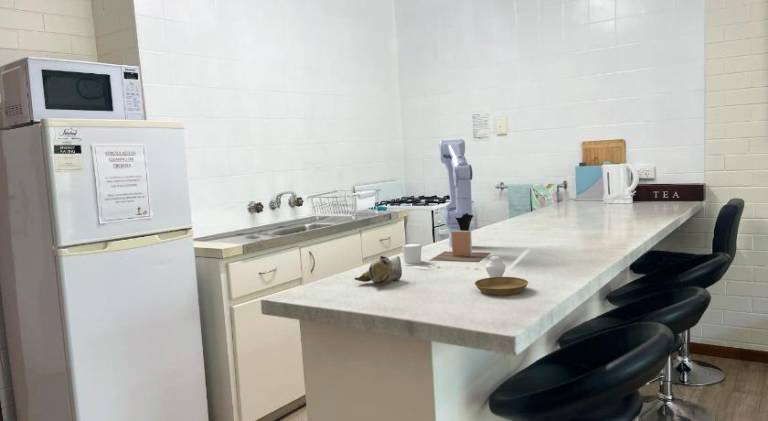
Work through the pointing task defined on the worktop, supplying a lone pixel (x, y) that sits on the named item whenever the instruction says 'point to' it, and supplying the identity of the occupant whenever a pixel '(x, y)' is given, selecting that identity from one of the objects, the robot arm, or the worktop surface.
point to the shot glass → (412, 253)
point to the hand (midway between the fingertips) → (464, 234)
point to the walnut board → (460, 257)
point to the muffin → (495, 267)
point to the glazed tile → (461, 243)
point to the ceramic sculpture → (382, 271)
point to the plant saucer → (501, 285)
